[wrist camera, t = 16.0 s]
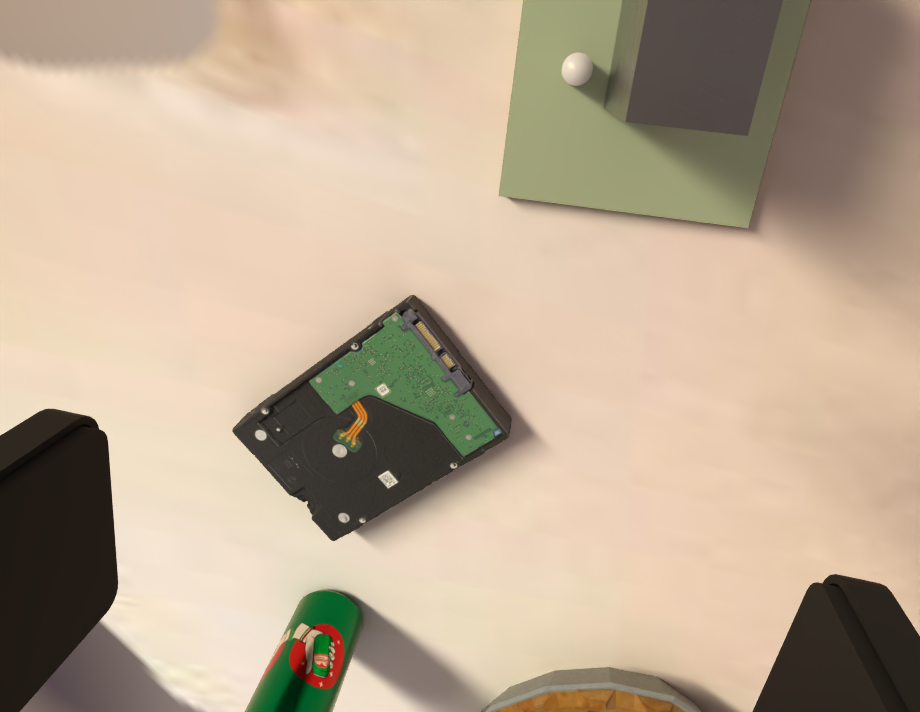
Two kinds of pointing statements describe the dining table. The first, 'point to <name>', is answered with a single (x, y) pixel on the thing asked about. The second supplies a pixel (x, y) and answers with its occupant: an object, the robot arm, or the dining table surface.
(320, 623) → the soda can
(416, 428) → the disk drive
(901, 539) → the dining table surface
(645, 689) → the pie
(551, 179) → the dock
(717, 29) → the dark grey thick block
